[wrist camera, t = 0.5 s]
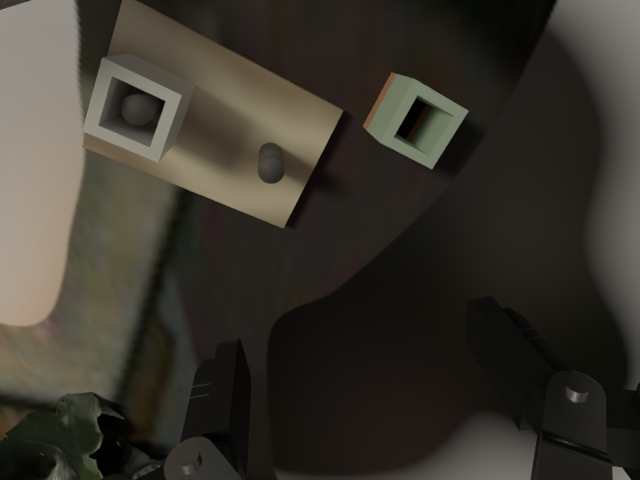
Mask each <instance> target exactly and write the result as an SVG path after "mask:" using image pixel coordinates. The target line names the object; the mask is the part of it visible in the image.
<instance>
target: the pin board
mask: <svg viewBox="0 0 640 480" xmlns="http://www.w3.org/2000/svg"><path fill="white" fill-rule="evenodd" d="M124 54H133V55H135V56H137V57H139V58H141V59H143V60H145V61H147V62H149V63H151V64H153V65H156V66H158V67H160V68H162V69H164V70H166V71H168V72H170V73H172V74H174V75H176V76H178V77H180V78H182V79H184V80H186V81H188V82H190V83H192V84H194V85H196V87H195V90H194V93H193V95H192V98H191V101H190V104H189V106H188V109H187V112H186V115H185V117H184V120H183V123H182V126H181V128H180V131H179V134H178V137H177V140H176V142H175V144H174V145H173V146H172V147H171V148H170V149H169V151H168V152H167V153H166V154H165V155H164V156H163V158H162V159H161V160H160V161H159V162H155V161H153V160H150V159H148V158H146V157H143V156H141V155H138V154H136V153H134V152H131V151H129V150H126V149H124V148H122V147H119V146H117V145H114V144H112V143H110V142H107V141H105V140H102V139H100V138H98V137H95V136H93V135H90V134H88V133H86V135H85V139H84V143H83V146H82V147H84V148H87V149H89V150H92V151H94V152H96V153H99V154H101V155H104V156H106V157H109V158H111V159H114V160H116V161H119V162H121V163H124V164H126V165H128V166H131V167H133V168H136V169H138V170H141V171H143V172H146V173H148V174H151V175H153V176H156V177H158V178H160V179H163V180H165V181H168V182H170V183H173V184H175V185H178V186H180V187H183V188H185V189H188V190H190V191H193V192H195V193H197V194H200V195H202V196H205V197H207V198H210V199H212V200H215V201H217V202H220V203H222V204H225V205H227V206H229V207H232V208H234V209H237V210H239V211H242V212H244V213H247V214H249V215H252V216H254V217H257V218H259V219H262V220H264V221H266V222H269V223H271V224H274V225H276V226H279V227H281V228H284V226H285V224H286V222H287V220H288V218H289V216H290V214H291V213H292V211H293V209H294V207H295V205H296V203H297V201H298V199H299V197H300V195H301V193H302V191H303V189H304V187H305V185H306V183H307V181H308V179H309V177H310V175H311V173H312V171H313V169H314V167H315V165H316V164H317V162H318V160H319V158H320V156H321V154H322V152H323V150H324V148H325V146H326V144H327V142H328V140H329V138H330V136H331V134H332V132H333V130H334V128H335V126H336V124H337V122H338V120H339V118H340V116H341V114H342V113H343V110H342V109H341V108H339V107H338V106H336V105H334V104H332V103H330V102H328V101H326V100H324V99H322V98H321V97H319V96H317V95H315V94H313V93H311V92H309V91H307V90H305V89H304V88H302V87H300V86H298V85H296V84H294V83H292V82H290V81H288V80H286V79H285V78H283V77H281V76H279V75H277V74H275V73H273V72H271V71H269V70H268V69H266V68H264V67H262V66H260V65H258V64H256V63H254V62H252V61H251V60H249V59H247V58H245V57H243V56H241V55H239V54H237V53H235V52H234V51H232V50H230V49H228V48H226V47H224V46H222V45H220V44H218V43H217V42H215V41H213V40H211V39H209V38H207V37H205V36H203V35H201V34H200V33H198V32H196V31H194V30H192V29H190V28H188V27H186V26H184V25H183V24H181V23H179V22H177V21H175V20H173V19H171V18H169V17H167V16H166V15H164V14H162V13H160V12H158V11H156V10H154V9H152V8H150V7H149V6H147V5H145V4H143V3H141V2H139V1H137V0H122V3H121V6H120V10H119V14H118V17H117V21H116V25H115V28H114V32H113V36H112V39H111V43H110V47H109V51H108V54H107V57H109V56H117V55H124ZM165 102H166V101H165V100H162V99H160V98H158V97H156V96H154V95H152V94H150V93H147V92H145V91H143V90H141V89H139V88H137V87H135V86H134V87H133V90H132V93H131V95H130V96H128V97H126V98H125V99H124V100H123V101H122V103H121V113H122V115H123V117H124V118H125V120H126V121H128V122H129V123H130V124H133V125H136V126H142V125H145V124H146V123H148V122H149V121H151V122H153V123H155V124H158V123H159V120H160V117H161V114H162V111H163V108H164V105H165Z"/></svg>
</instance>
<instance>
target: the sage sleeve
mask: <svg viewBox="0 0 640 480" xmlns="http://www.w3.org/2000/svg"><path fill="white" fill-rule="evenodd" d="M416 98H417V99H418V100H420V101H422V102H423V103H425V104H426V106H425V107H424V109H423V111H422V112H421V114H420V116H419V118H418V119H417V121H416V123H415V124H414V126H413V128H412V129H411V131H410V133H409V135H408V136H407V138H406V139H405V138H403V137H402V136H400V135H398V134H396V132H397V130H398V129H399V127H400V125H401V123H402V122H403V120H404V118H405V116H406V115H407V113H408V111H409V109H410V108H411V106H412V104H413V102H414V101H415V99H416ZM467 113H468V110H466V109H464V108H463V107H461V106H459V105H458V104H456V103H454V102H452V101H451V100H449V99H447V98H446V97H444V96H442V95H441V94H439V93H437V92H436V91H434V90H432V89H431V88H429V87H427V86H425V85H424V84H422V83H420V82H419V81H417V80H415V79H412V78H409V77H406V76H402V75H399V74H395V73H391V75H390V77H389V78H388V80H387V82H386V84H385V86H384V88H383V90H382V92H381V93H380V95H379V97H378V99H377V101H376V103H375V105H374V106H373V108H372V110H371V112H370V114H369V116H368V118H367V119H366V121H365V123H364V125H363V127H364V128H365V129H366V130H367V131H368V132H369V133H370V134H371V135H372V136H373V137H374V138H375V139H377V140H378V141H379V142H380V143H382V144H384V145H386V146H388V147H390V148H392V149H393V150H395V151H397V152H399V153H401V154H403V155H405V156H407V157H409V158H411V159H413V160H415V161H417V162H419V163H421V164H422V165H424V166H426V167H428V168H430V169H432V168H433V167H434V165H435V164H436V162H437V161H438V159H439V157H440V156H441V154H442V153H443V151H444V149H445V148H446V146H447V145H448V143H449V141H450V140H451V138H452V137H453V135H454V134H455V132H456V130H457V129H458V127H459V126H460V124H461V122H462V121H463V119H464V118H465V116H466V114H467Z"/></svg>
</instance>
